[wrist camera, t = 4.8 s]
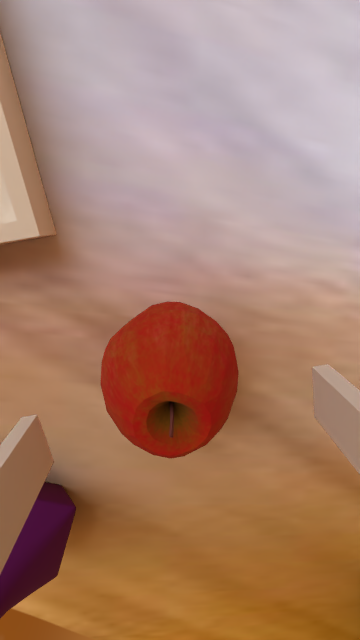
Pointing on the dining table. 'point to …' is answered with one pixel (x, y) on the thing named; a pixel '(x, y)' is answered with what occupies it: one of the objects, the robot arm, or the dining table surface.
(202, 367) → the apple
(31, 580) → the perfume bottle
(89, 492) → the dining table surface
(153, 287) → the dining table surface
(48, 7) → the dining table surface
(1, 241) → the beige square dish
